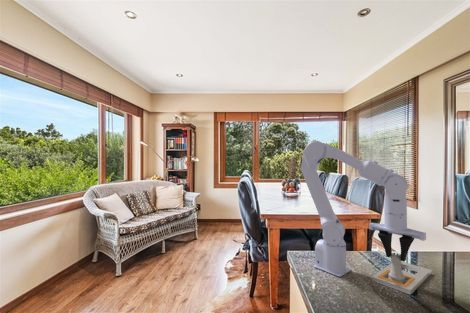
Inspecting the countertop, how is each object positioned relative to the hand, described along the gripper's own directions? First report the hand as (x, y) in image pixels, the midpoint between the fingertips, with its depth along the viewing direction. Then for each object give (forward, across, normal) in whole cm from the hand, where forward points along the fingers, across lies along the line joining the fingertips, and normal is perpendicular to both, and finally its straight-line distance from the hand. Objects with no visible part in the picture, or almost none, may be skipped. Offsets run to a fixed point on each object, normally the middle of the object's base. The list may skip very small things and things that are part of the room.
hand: (396, 258), depth 73 cm
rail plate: (+7, 0, -5) cm, 9 cm away
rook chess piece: (+7, 0, 0) cm, 7 cm away
